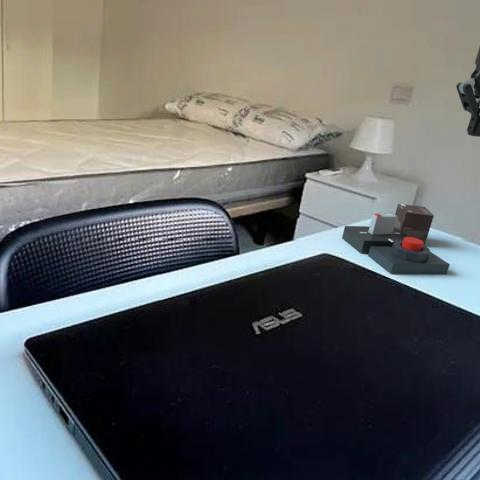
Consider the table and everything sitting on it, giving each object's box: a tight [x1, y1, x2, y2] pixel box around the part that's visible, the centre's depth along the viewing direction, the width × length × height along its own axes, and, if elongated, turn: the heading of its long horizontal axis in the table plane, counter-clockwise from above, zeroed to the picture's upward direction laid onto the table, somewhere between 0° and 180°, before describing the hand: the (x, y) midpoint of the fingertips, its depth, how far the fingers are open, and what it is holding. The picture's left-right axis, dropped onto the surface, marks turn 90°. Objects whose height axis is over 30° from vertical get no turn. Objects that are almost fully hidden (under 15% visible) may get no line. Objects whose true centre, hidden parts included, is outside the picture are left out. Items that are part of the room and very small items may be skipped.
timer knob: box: [368, 213, 397, 235], centre depth 105 cm, size 5×1×4 cm, turn 104°
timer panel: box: [341, 224, 409, 255], centre depth 106 cm, size 12×9×3 cm
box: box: [394, 203, 435, 246], centre depth 110 cm, size 6×6×7 cm
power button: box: [402, 237, 424, 251], centre depth 97 cm, size 4×4×2 cm
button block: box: [367, 240, 451, 275], centre depth 98 cm, size 12×8×4 cm, turn 99°
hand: (474, 135), depth 96 cm, fingers closed
